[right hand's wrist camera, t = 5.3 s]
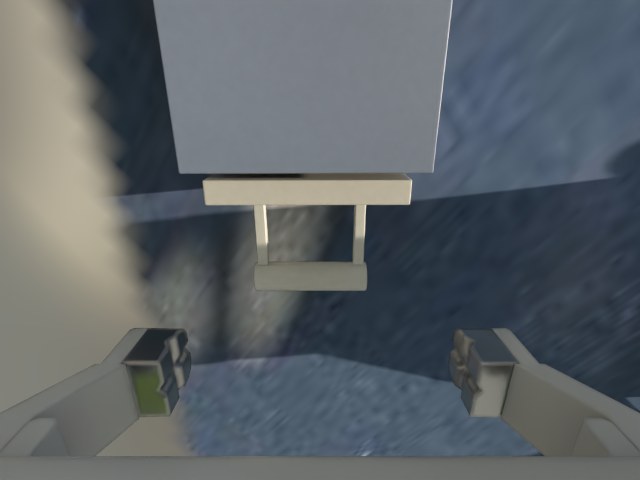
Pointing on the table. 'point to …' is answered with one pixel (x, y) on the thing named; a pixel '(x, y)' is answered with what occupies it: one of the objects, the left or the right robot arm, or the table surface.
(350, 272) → the drawer
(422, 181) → the table surface
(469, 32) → the table surface
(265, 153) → the cabinet
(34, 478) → the right robot arm
